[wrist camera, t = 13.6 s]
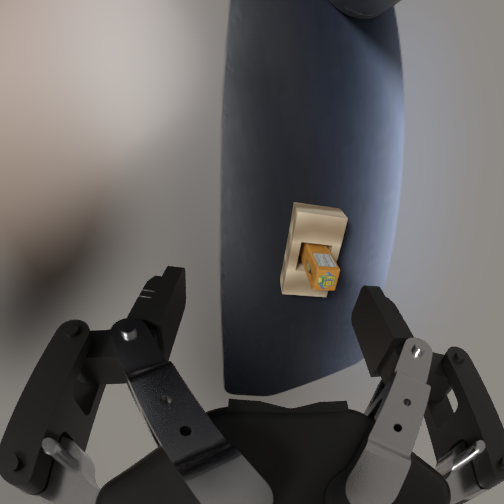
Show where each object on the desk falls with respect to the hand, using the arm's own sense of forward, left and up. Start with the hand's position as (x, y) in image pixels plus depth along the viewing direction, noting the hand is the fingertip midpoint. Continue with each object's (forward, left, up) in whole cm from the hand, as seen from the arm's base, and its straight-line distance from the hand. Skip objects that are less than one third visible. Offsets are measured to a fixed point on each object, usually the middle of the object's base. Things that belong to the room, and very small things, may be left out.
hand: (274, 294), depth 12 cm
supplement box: (+10, +9, -28) cm, 31 cm away
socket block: (+10, +8, -28) cm, 31 cm away
